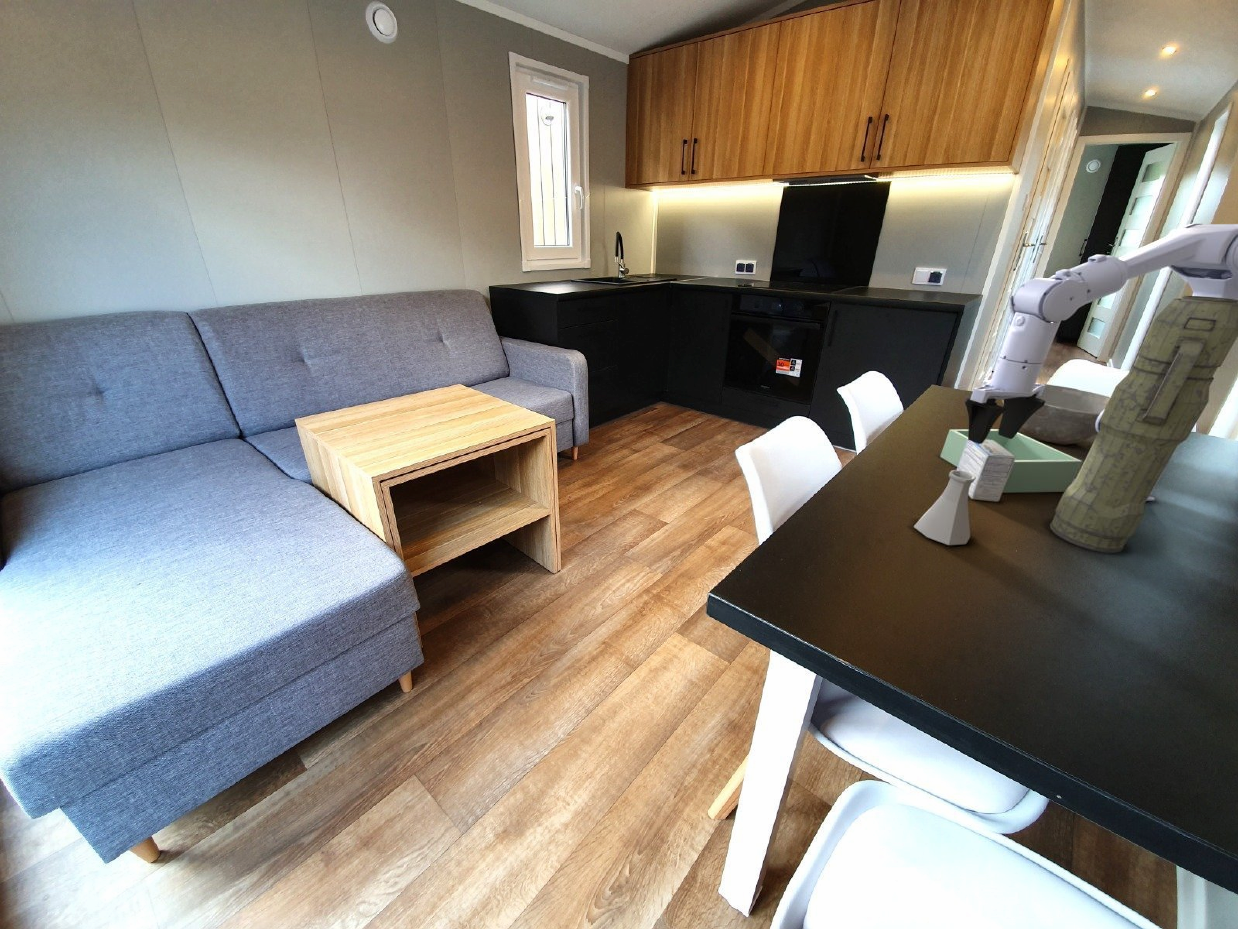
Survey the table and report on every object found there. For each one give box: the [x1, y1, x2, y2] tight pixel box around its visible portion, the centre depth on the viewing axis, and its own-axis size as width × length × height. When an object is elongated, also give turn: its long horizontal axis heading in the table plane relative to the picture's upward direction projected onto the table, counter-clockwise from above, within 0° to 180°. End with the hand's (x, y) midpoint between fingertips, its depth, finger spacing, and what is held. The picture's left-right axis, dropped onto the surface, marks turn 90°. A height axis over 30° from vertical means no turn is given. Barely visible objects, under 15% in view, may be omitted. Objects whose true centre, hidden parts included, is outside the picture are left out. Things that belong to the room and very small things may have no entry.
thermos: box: [1049, 295, 1238, 554], centre depth 68 cm, size 9×12×35 cm
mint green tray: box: [940, 428, 1083, 494], centre depth 94 cm, size 14×16×6 cm
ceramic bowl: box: [1001, 383, 1111, 445], centre depth 112 cm, size 22×23×10 cm
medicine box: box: [956, 439, 1016, 503], centre depth 86 cm, size 8×4×9 cm, turn 168°
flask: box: [913, 469, 976, 546], centre depth 73 cm, size 7×7×10 cm
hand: (990, 439), depth 83 cm, fingers open, 7 cm apart
